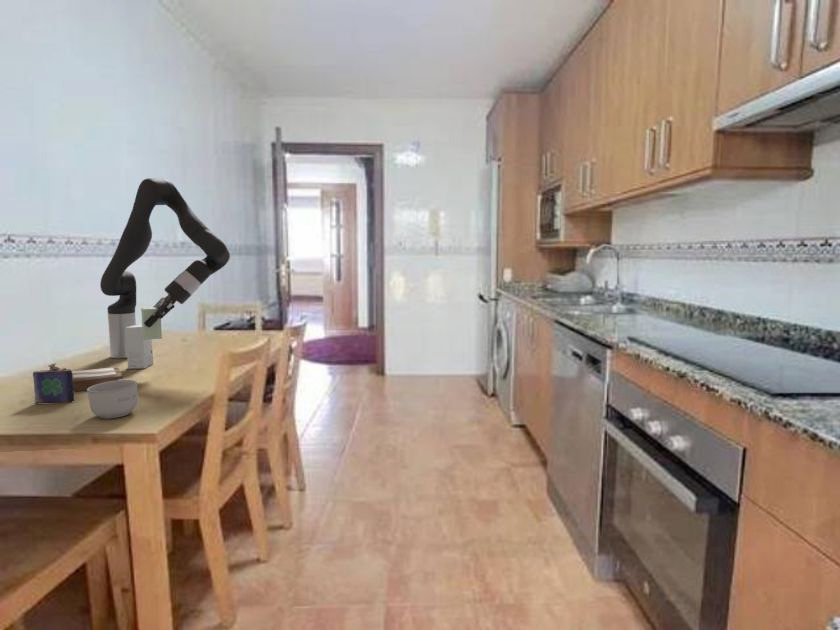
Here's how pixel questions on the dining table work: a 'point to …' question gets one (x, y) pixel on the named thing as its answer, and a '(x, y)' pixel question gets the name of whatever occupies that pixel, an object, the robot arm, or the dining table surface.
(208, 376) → the dining table surface
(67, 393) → the flask
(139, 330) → the skincare box
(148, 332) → the green block
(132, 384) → the teacup
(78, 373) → the base block
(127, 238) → the robot arm
